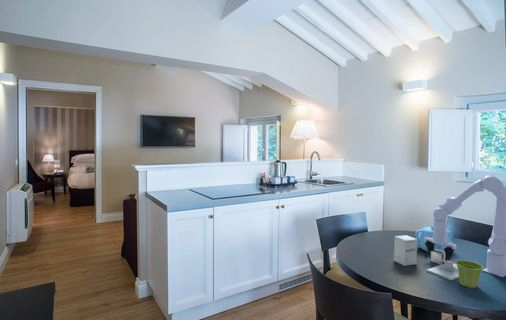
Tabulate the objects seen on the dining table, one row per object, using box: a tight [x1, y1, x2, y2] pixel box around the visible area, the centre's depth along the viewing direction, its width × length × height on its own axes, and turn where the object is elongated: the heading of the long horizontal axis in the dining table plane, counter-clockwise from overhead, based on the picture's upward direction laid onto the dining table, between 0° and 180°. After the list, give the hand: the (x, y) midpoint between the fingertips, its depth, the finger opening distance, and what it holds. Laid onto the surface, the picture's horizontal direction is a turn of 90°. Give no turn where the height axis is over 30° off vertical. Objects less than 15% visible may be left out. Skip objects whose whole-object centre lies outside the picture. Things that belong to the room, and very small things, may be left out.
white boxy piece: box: [430, 249, 445, 265], centre depth 152 cm, size 5×5×5 cm
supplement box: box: [393, 234, 418, 267], centre depth 151 cm, size 7×7×13 cm
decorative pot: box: [414, 224, 454, 254], centre depth 168 cm, size 16×16×14 cm
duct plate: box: [426, 260, 459, 281], centre depth 141 cm, size 18×11×5 cm, turn 119°
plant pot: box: [455, 259, 484, 289], centre depth 128 cm, size 9×9×9 cm
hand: (439, 259), depth 152 cm, fingers open, 7 cm apart
